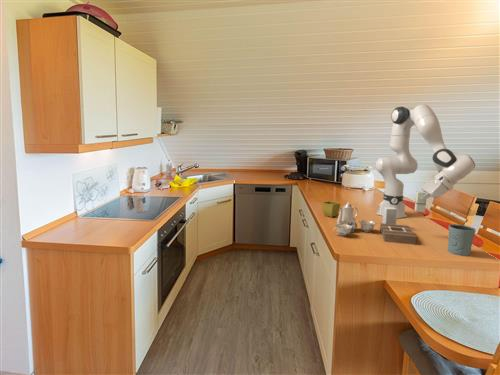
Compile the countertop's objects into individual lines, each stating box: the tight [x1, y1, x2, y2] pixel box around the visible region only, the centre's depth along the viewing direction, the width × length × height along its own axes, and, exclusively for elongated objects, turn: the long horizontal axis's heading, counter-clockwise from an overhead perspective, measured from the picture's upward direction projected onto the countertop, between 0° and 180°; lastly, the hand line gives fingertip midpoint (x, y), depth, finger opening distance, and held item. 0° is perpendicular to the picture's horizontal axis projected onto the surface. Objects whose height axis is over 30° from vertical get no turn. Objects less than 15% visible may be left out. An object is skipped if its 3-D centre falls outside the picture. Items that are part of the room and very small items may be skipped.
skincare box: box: [381, 207, 397, 225], centre depth 178 cm, size 6×4×12 cm
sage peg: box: [414, 190, 427, 213], centre depth 162 cm, size 4×4×10 cm
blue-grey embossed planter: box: [447, 223, 476, 257], centre depth 142 cm, size 10×10×12 cm
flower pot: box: [321, 200, 341, 218], centre depth 204 cm, size 9×9×9 cm
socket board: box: [379, 222, 417, 245], centre depth 164 cm, size 20×14×4 cm
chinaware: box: [332, 201, 377, 237], centre depth 170 cm, size 28×17×17 cm, turn 123°
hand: (419, 198), depth 162 cm, fingers closed on sage peg, 4 cm apart
